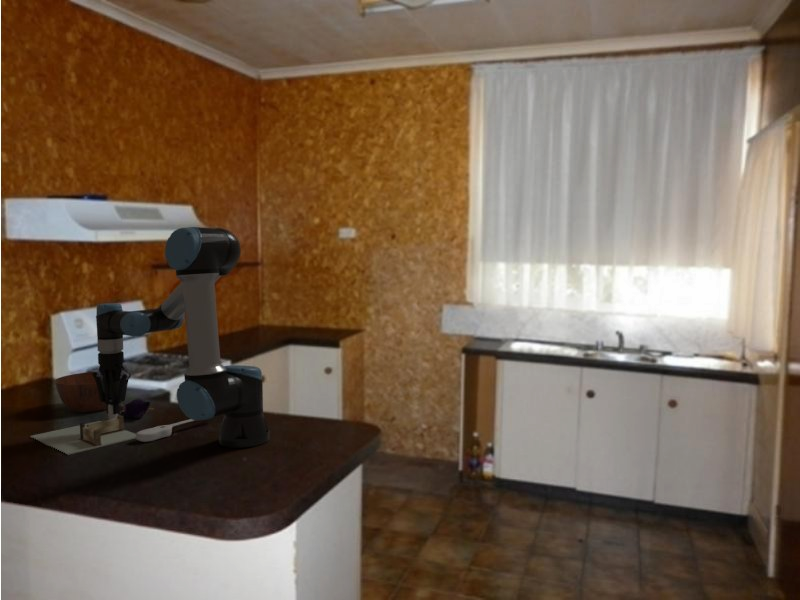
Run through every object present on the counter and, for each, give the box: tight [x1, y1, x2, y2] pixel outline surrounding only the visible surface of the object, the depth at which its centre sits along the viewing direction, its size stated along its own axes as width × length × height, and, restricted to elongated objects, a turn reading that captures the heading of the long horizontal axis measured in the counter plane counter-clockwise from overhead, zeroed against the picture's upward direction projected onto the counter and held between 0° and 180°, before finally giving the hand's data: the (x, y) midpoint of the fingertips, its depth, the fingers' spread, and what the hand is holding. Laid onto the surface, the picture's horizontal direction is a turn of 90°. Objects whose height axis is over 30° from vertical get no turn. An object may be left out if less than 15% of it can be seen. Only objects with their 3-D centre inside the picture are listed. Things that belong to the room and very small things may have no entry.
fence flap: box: [87, 415, 125, 434], centre depth 200 cm, size 11×1×4 cm, turn 140°
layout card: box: [30, 420, 136, 456], centre depth 198 cm, size 28×22×1 cm
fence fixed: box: [79, 421, 101, 446], centre depth 191 cm, size 11×1×6 cm, turn 50°
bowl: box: [54, 370, 128, 413], centre depth 236 cm, size 25×25×11 cm
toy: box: [118, 397, 155, 419], centre depth 220 cm, size 11×12×7 cm
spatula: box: [135, 418, 196, 443], centre depth 202 cm, size 28×6×3 cm, turn 145°
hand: (113, 423), depth 203 cm, fingers closed
